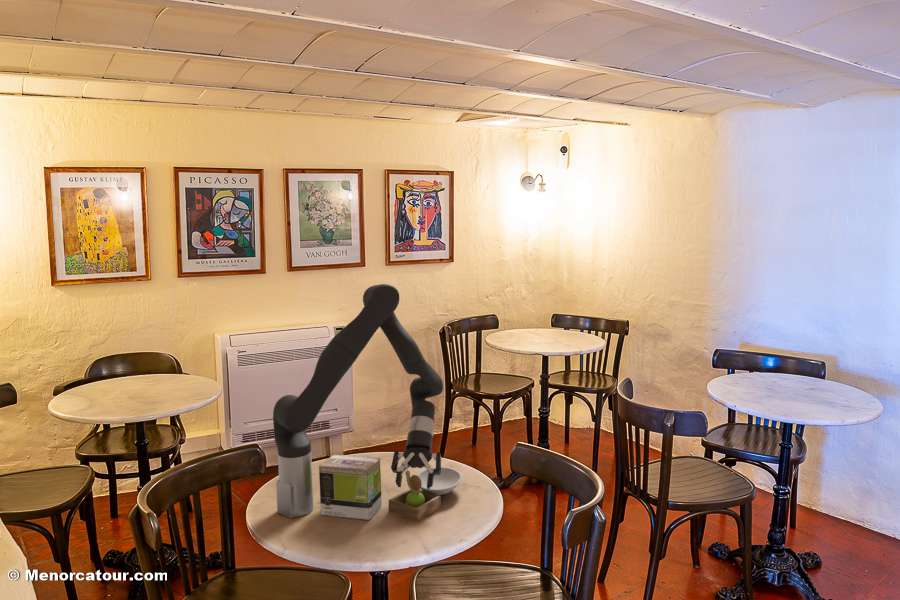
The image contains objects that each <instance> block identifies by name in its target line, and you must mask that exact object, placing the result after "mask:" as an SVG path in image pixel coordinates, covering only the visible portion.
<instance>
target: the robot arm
mask: <svg viewBox="0 0 900 600" xmlns="http://www.w3.org/2000/svg"><path fill="white" fill-rule="evenodd" d="M362 302H363V305H364V306H363V308H362V309H361V311H360V312H359V313H358V315H357V316H355V318H354V319H352V320H351V322H349V323H348V324H347V325H345V326H344V327H343V328H341V330H339V331H338V332H337V333H336V334H335V335H334V336H333V338H331V340H330V341H329V343H328V344H327V345H326V347H324V349H323V350H322V352H321V354H320V355H319V357H318V358H317V359H318V360H317V362H316V366H315V368H314V372H313V375H312V377H311V379H310V381H309V383H308V384H307V385H306V387H305V388H304V389H303V391H301V393H300V394H299V396H296V395H294V394H287V395H284V396H281V397H280V398H279V399H278V400H277V401H276V403H275V404H274V407H273V412H272V413H273V414H272V420H273V421H272V423H273V424H272V425H273V434H274V435H273V436H274V443H275V444H276V448H277V463H278V480H276V481H275V486H276V505H277V506H276V508H277V511H276V512H277V513H278V514H280V515H283V516H284V517H287V518H289V519H293V518H296V517H302V516H305V515H307V514H310V513H312V511H313V510H314V497H313V496H314V490H313V489H314V488H313V465H312V464H313V463H312V462H313V461H312V443H311V440H310V438H309V436H308V434H307V431H306V430H307V429H309V427H310V426H311V425H312V424H313V422H315V420H316V418H317V416H318V415H319V413H320V411H321V410H322V408H323V406H324V405H325V402H326V401H327V399H328V398H329V396H330V395H331V394H332V393H333V391H334V389H336V387H337V385H338V384H339V383H340V381H341V380H342V378H343V377H344V376H345V375H346V373H348V371H349V370H350V368H351V367H352V366H353V364H354V363H355V361H356V360H357V359H358V357H359V356H360V354H361V353H362V351H363V350H364V349H365V347H366V346H367V345H368V343H369V342H370V341H371V339H372V338H373V336H374V335H375V334H376V332H377V330H378V329H379V328H380V330H381V331H382V332H383V333H384V336H385V337H386V338H387V340H388V342H389V343H390V345H391V347H392V348H393V350H394V353H395V354H396V355H397V357H398V359H399V362H400V363H401V366H402V367H403V369H404V371H405V372H406V373H407V374H408V375H417V376H419V377H416V378H414V379H413V380H412V381H411V383H410V385H409V395H410V400H411V408H412V409H411V414H410V422H409V424H408V431H407V438H406V444H405V450H404V451H399V450H398V449H396V450H394V452H393V456H392V461H391V465H390V470H391V472H392V473H395V474H396V476H395V482H394V483H395V484H396V486H397V488H401V486H402V479H403V474H404V473H405V472H406V471H407V468H406V469H405V467H407V466H408V469H409V468H411V469H414V468H418V469H423V468H425V469H426V470H427V471H428V473H429V474H428V480H427V489H430V487H432V486H433V479H434V476H435V475H440V474H441V467H442V454H441V452H440V451H437V452H436V453H432V446H433V437H434V428H435V427H434V421H435V414H436V413H435V412H436V411H435V410H436V407H435V405H434V403H433V402H431V401H429V400H426V399H429V398H430V399H431V398H433V397H436V396H440V395H441V393H443V391H444V383H443V379H442V377H441V376H440V374H439V373H438V372H437V371H436V370H435V369H434V368H433V367H432V366H431V364H429V362H427V360H426V359H425V357H424V356H423V353H422V352H421V350H420V347H419V346H418V343H416V341H415V339H414V338H413V337H412V336H411V334H410V333H409V332H408V331H407V330H406V328H404V326H403V325H402V324H401V321H399V320H398V317H397V316H396V314H395V311H396V310H397V308H398V306H399V304H400V293H399V290H398V289H397V287H396V286H394V285H392V284H388V283H380V284H374V285H371V286H369V287H367V288H366V290H365V291H364V293H363V295H362ZM402 458H404V460H403V461H402V462H401V464H400V465H399V461H400V460H401V459H402ZM432 459H433V461H434V462H435V467H436V469H432V466H431V465H430V463H429V462H430V461H431V460H432ZM398 465H399V466H398Z"/></svg>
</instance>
